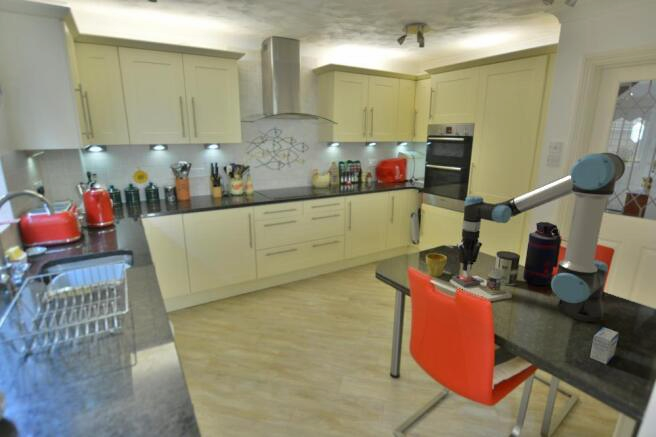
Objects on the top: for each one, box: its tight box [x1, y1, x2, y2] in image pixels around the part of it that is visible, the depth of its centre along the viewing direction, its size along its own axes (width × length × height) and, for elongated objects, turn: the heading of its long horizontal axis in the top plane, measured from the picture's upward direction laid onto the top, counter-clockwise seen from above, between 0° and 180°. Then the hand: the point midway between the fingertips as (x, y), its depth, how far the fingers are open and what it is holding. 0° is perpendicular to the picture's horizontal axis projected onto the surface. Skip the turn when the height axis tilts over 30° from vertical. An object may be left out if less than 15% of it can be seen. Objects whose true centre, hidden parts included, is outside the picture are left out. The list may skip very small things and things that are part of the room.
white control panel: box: [449, 274, 513, 302], centre depth 159 cm, size 22×16×4 cm
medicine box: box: [590, 327, 620, 365], centre depth 111 cm, size 8×4×9 cm, turn 126°
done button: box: [459, 274, 473, 282], centre depth 164 cm, size 6×6×2 cm
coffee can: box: [494, 250, 521, 286], centre depth 167 cm, size 10×10×14 cm
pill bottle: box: [486, 267, 502, 292], centre depth 154 cm, size 6×6×10 cm
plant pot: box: [425, 253, 448, 278], centre depth 176 cm, size 10×10×10 cm
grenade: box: [522, 221, 562, 287], centre depth 164 cm, size 14×12×30 cm
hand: (466, 276), depth 163 cm, fingers closed
